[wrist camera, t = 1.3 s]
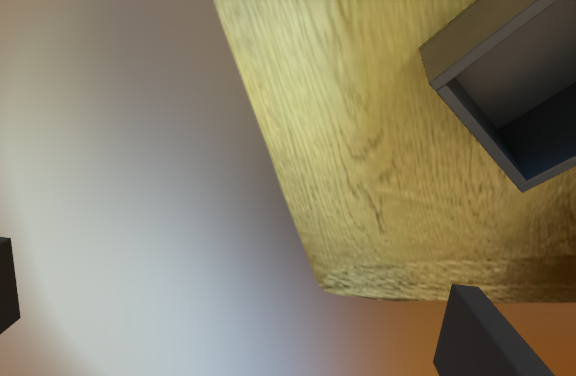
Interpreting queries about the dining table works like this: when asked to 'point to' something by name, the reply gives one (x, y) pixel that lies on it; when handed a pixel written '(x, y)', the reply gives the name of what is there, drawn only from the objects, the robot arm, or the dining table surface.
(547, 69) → the chest
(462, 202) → the dining table surface
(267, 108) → the dining table surface
